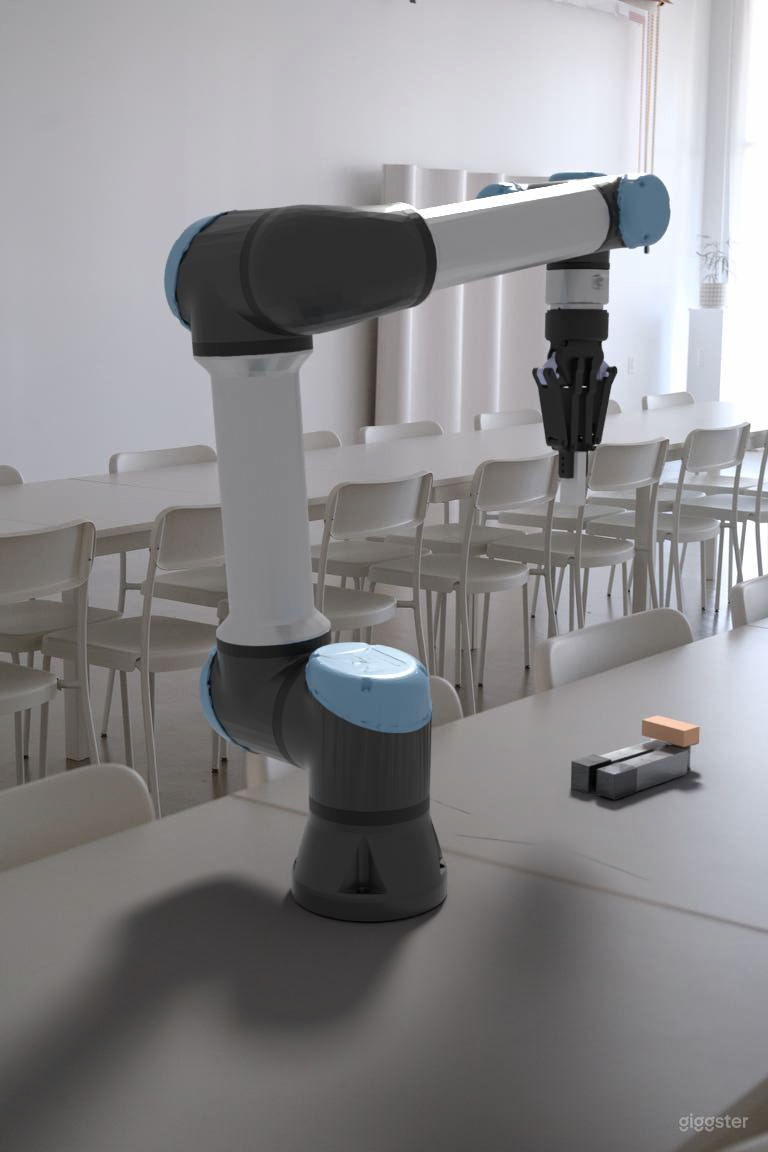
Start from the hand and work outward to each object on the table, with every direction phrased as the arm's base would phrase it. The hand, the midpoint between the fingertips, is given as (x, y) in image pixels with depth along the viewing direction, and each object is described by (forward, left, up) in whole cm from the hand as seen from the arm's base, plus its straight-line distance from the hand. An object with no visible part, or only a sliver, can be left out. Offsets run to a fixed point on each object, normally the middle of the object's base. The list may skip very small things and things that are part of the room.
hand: (572, 504), depth 169 cm
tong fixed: (+1, -10, -32) cm, 34 cm away
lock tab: (+7, -11, -29) cm, 31 cm away
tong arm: (+2, -12, -32) cm, 34 cm away
